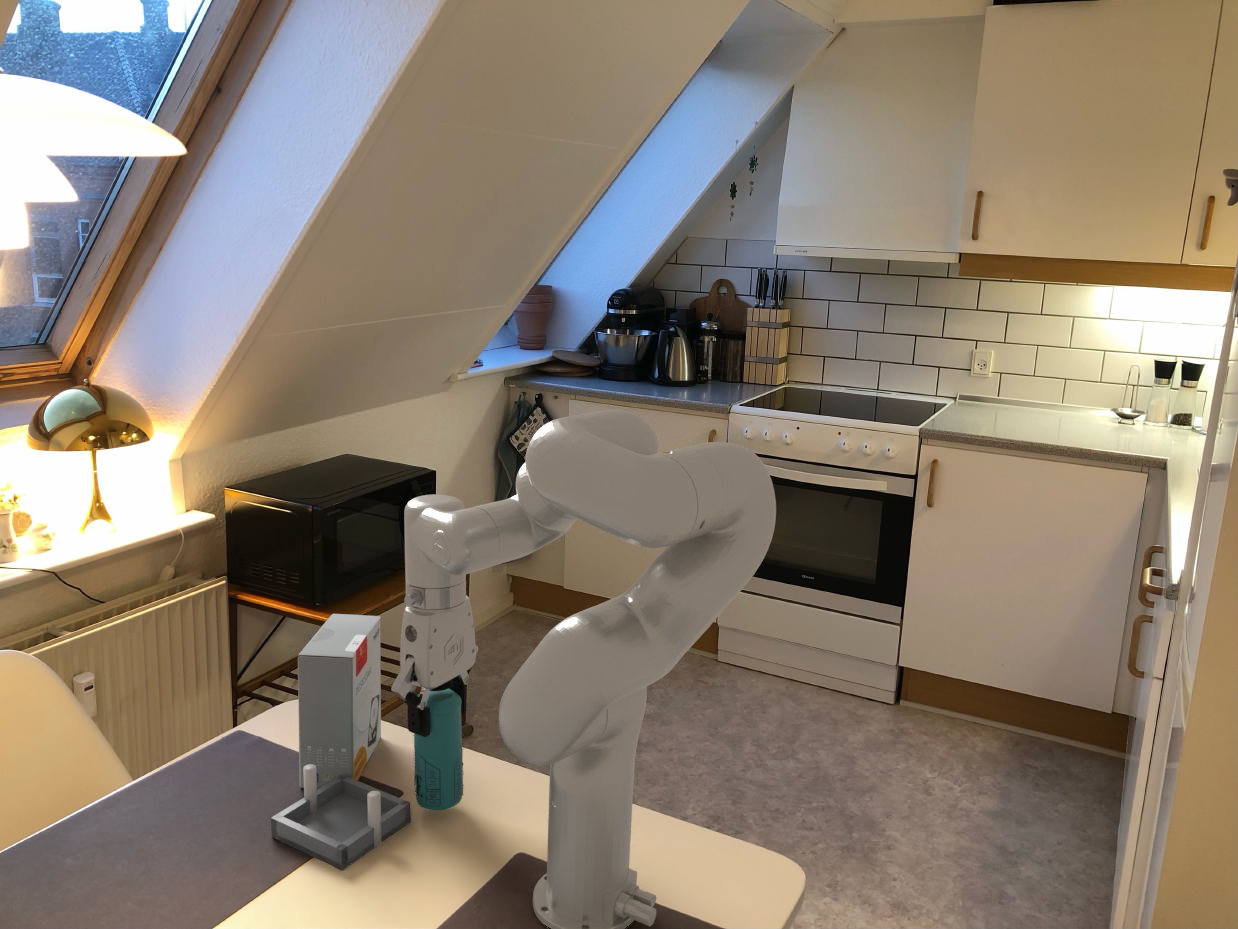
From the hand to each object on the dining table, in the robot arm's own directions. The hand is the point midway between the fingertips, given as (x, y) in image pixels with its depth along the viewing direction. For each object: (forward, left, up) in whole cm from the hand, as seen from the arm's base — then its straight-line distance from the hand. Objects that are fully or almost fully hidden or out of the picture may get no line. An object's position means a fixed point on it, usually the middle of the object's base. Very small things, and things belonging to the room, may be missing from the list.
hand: (437, 721), depth 129 cm
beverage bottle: (0, 0, -13) cm, 13 cm away
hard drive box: (+19, -2, -13) cm, 24 cm away
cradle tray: (+7, +10, -13) cm, 18 cm away
